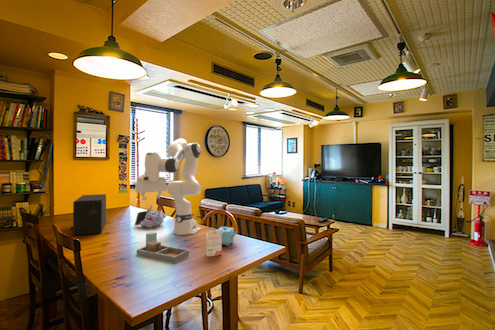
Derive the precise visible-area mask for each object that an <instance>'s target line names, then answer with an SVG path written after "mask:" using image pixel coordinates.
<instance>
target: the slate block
mask: <svg viewBox="0 0 495 330" xmlns="http://www.w3.org/2000/svg"><path fill="white" fill-rule="evenodd" d="M157 234H158V233H157V232H155V231H149V232H147V233H145V245H146V244H147V243H149V242H152V241H155V242H158V241H157V240H158V239H157V237H158V236H157Z"/></svg>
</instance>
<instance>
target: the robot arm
mask: <svg viewBox="0 0 495 330" xmlns="http://www.w3.org/2000/svg"><path fill="white" fill-rule="evenodd" d="M167 153H168V155H169V156H170V157H161V156H160V154H159V152H157V151H149V152H146V154H145V157H144V168H145V169H144V174H142V175H139V176H136V182H135V189H134V191H135V192H136V193H137V194H140V195H141V196H142V200H144V201H146V200H147V196H145V195H146V193H157V195H156V199H160V198H161V195H162V193H163V192H167V193H168V194H169V195H170V196H171V197H172V198H173V200H174V202H175V220H174V225H173V226H174V228H173V229H172V231H173V234H174V235H178V236H179V235H180V236H182V235H183V236H186V235H194V234H196V233H197V232H199V231H201V230H202V227H199V225H198V224H199V223H198V221H197V220H196V219H194V217H195V212H192V203H191V201H189V200H187V199H186V196H188V197H194V196H198V195H200V193H201V192H202V191H201V190H202V186H201V184H200V183H199V182H198V181H197V180H196V175H197V171H198V170H197V169H198V166H199V164H198V163H199V162H198V159H199V157H200V155H201V154H202V147H201V144H200V143H198V142H192V143H187V140H185V139H184V138H178V139H175V140H173V142H172V143H170V144H169V145H168V147H167ZM184 159H185V161H184V164H183V166H182V170H181V173H180V175H181V176H180V177H181V178H182V179H183V180H173V181H169V183H167V178H166V177H164V176H162V177H161V176H160V173H171V174H175V173H176V172H177V171H178V170H179V166H180V165H181V162H182V161H183V160H184ZM193 216H194V217H193Z"/></svg>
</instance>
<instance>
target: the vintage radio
mask: <svg viewBox="0 0 495 330" xmlns="http://www.w3.org/2000/svg"><path fill="white" fill-rule="evenodd" d="M72 203H73V205H72V206H73V207H72V209H73V211H72V213H73V214H72V226H70V230H71V231H72V230H73V231H72V235H74V236H81V235H90V234H96V233H98V234H100V233H102V232H103V230H104V227H105V225H106V222H107V194H106V193H104V194H101V193H99V194H83V195H81V196H80V197H78V198H77V199H75V200H74V201H73V202H72Z"/></svg>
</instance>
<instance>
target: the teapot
mask: <svg viewBox="0 0 495 330" xmlns="http://www.w3.org/2000/svg"><path fill="white" fill-rule="evenodd" d="M211 229H212V231H214V230H221V235H222V245H225V246H226V247H229V246H230V245H231V244H232V242H233V241H234V237H235V236H236V235H237V234H238V231H237V230H236V231H234V230H235V229H234V227H230V226H229V227H228V226H219V228H218V229H216V228H214V227H211ZM216 233H217V232H213V234H216Z"/></svg>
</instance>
